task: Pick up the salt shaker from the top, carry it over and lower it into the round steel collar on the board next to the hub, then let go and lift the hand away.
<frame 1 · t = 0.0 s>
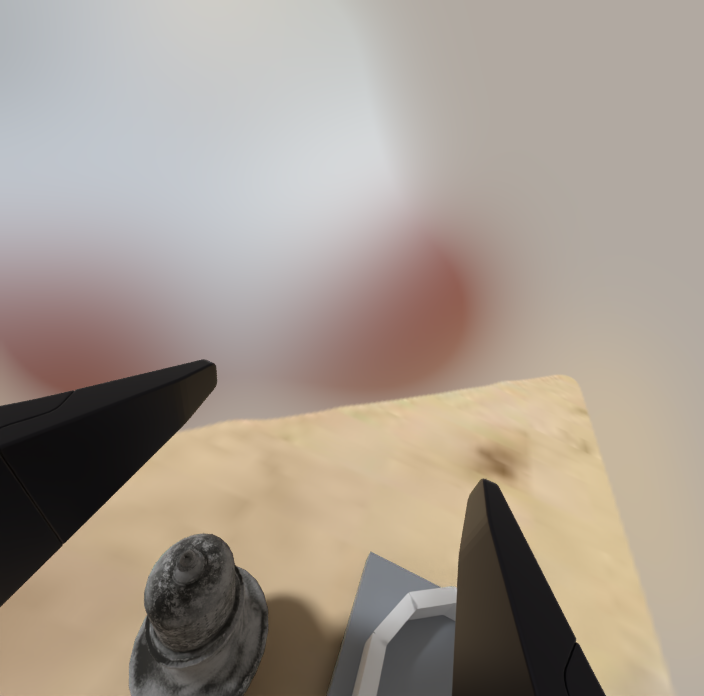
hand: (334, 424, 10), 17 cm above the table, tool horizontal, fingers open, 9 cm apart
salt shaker: (209, 655, 16), on the table
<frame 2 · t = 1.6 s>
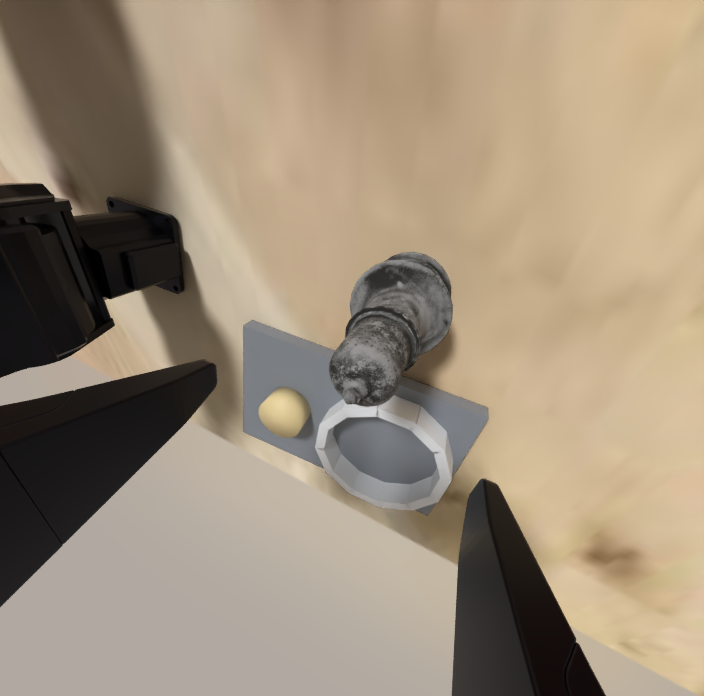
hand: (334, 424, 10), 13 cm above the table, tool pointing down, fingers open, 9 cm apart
socket board: (346, 417, 28), on the table
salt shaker: (410, 291, 20), on the table
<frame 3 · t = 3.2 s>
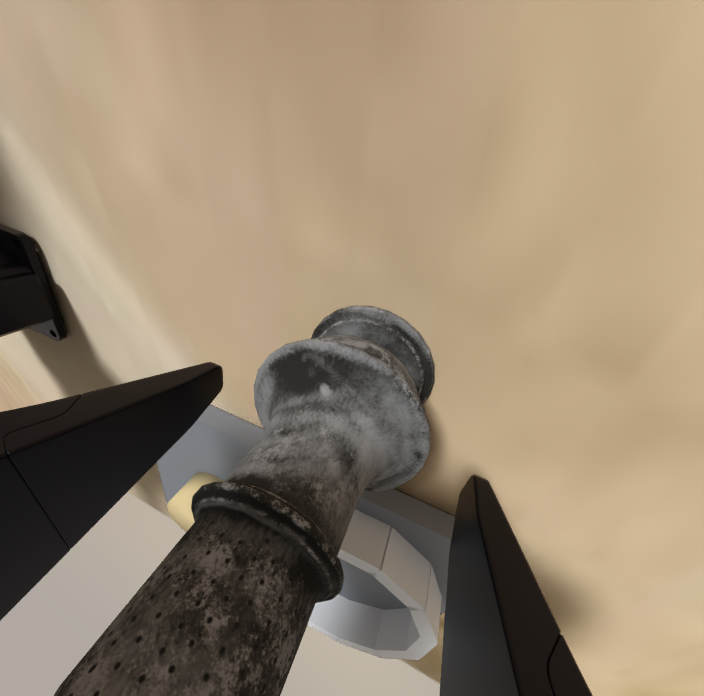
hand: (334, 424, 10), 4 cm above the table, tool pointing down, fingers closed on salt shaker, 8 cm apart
socket board: (295, 512, 20), on the table
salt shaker: (369, 364, 13), on the table, touching gripper
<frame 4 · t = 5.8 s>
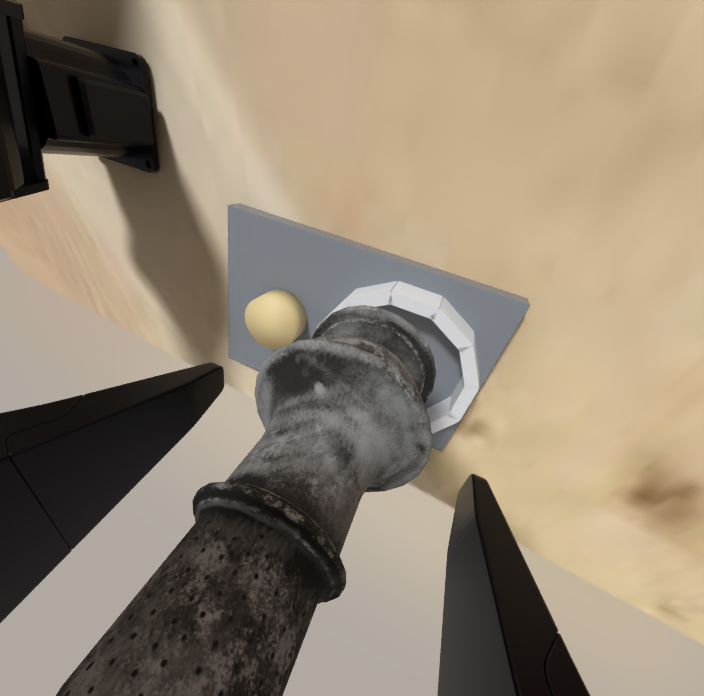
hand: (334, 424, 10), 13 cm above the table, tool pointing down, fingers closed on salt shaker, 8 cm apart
socket board: (349, 331, 23), on the table
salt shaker: (370, 364, 13), point 9 cm above the table, touching gripper
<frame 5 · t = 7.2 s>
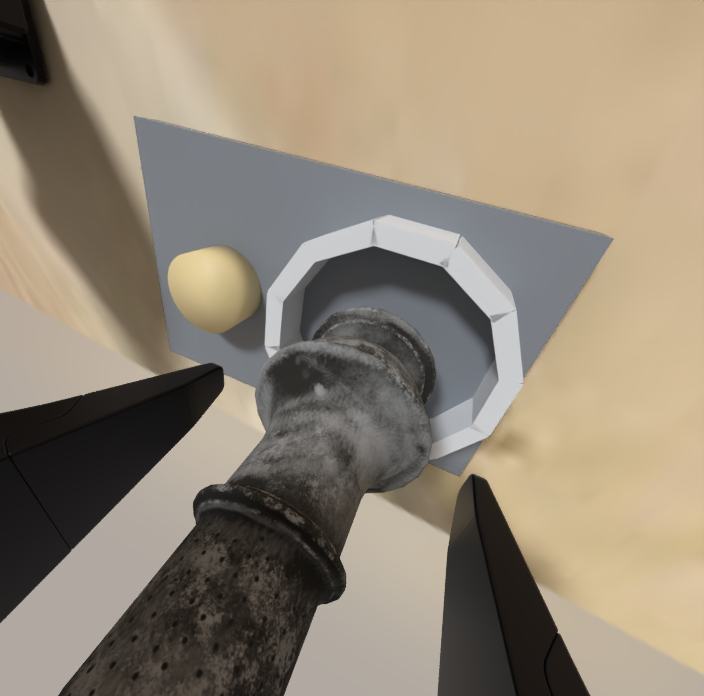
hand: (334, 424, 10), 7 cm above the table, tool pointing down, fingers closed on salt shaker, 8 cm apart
socket board: (322, 306, 16), on the table
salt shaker: (370, 365, 13), point 4 cm above the table, touching gripper
when the fingers open (6 cm above the table, at t = 8.6 s): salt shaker stays where it is, resting on socket board.
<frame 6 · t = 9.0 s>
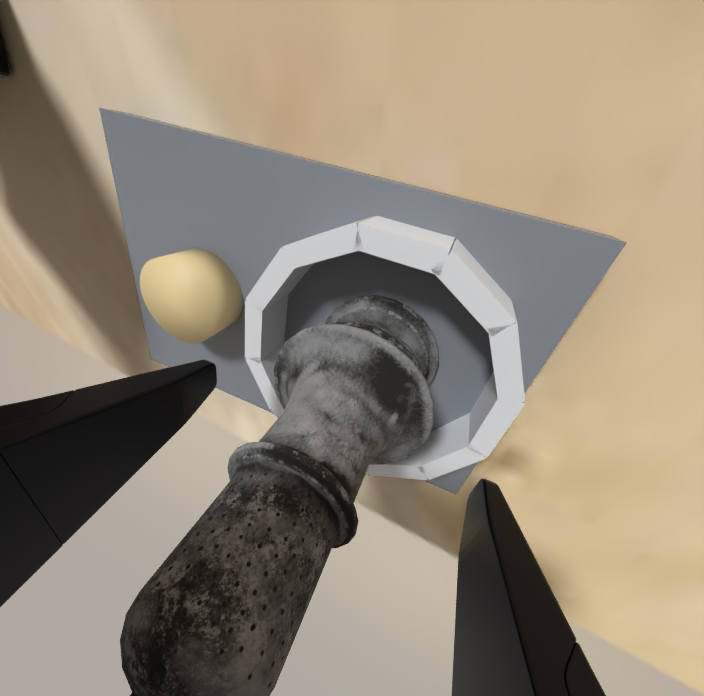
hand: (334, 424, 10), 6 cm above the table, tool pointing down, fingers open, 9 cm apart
socket board: (309, 313, 15), on the table
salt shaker: (378, 350, 14), point 1 cm above the table, touching socket board
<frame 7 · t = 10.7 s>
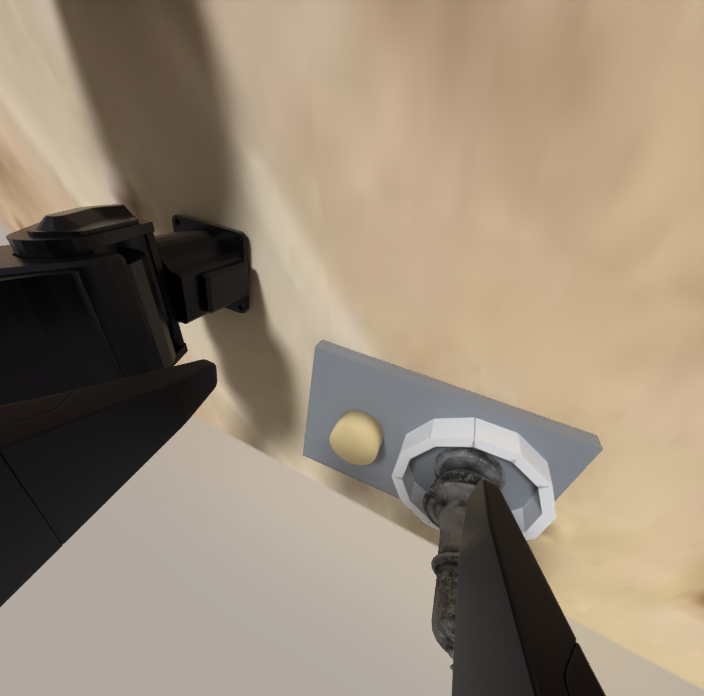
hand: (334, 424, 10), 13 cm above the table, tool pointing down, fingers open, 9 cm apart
socket board: (420, 442, 26), on the table
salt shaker: (468, 470, 24), point 1 cm above the table, touching socket board
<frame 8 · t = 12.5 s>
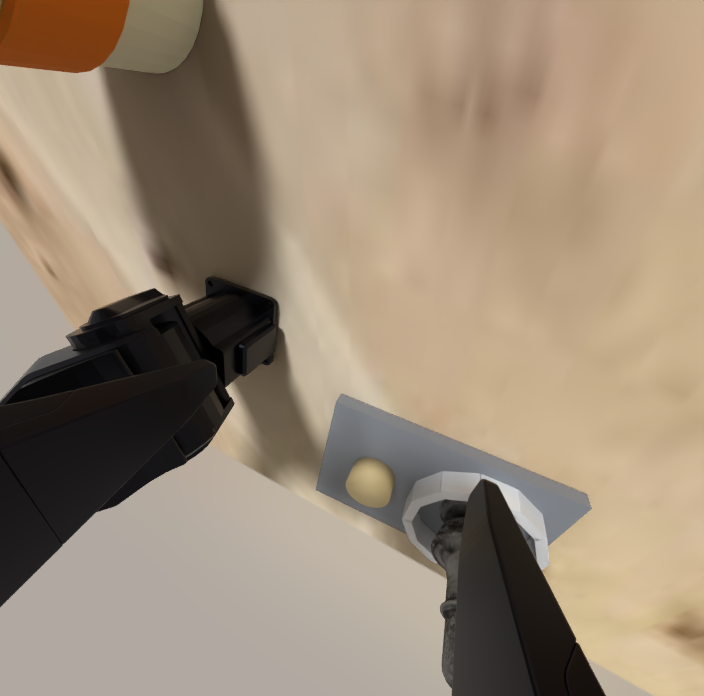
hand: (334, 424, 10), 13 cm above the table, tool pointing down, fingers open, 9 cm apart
socket board: (427, 486, 28), on the table
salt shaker: (470, 515, 26), point 1 cm above the table, touching socket board
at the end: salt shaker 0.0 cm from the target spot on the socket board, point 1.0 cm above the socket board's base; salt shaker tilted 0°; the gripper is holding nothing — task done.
